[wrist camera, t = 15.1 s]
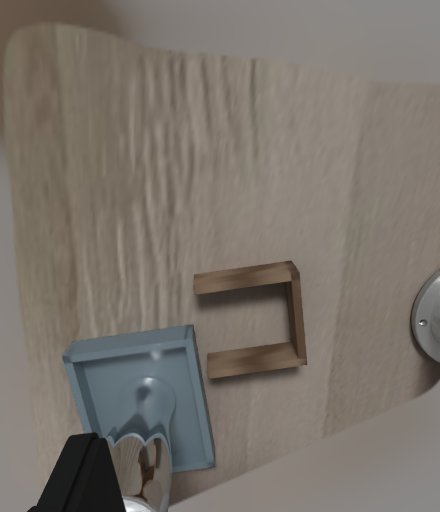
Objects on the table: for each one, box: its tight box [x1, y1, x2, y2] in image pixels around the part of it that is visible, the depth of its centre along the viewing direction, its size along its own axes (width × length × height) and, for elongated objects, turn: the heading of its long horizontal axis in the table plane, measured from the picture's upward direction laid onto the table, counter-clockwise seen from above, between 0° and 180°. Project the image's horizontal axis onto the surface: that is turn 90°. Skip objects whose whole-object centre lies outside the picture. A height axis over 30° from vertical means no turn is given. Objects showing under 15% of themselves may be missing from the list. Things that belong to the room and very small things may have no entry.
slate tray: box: [62, 325, 215, 473], centre depth 42 cm, size 13×16×3 cm
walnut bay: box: [193, 261, 307, 379], centre depth 39 cm, size 10×10×4 cm
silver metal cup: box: [106, 377, 176, 512], centre depth 35 cm, size 7×7×15 cm
